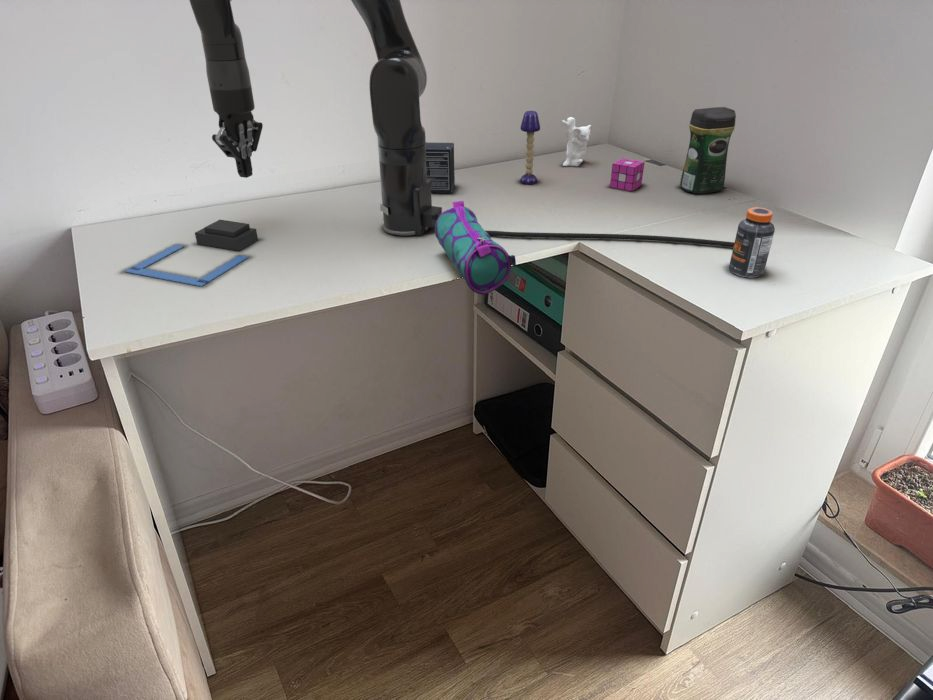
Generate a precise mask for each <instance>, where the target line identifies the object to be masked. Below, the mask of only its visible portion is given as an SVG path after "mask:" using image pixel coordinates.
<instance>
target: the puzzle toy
mask: <svg viewBox="0 0 933 700" xmlns="http://www.w3.org/2000/svg"><path fill="white" fill-rule="evenodd" d="M644 169H645V161H641V160H636V159H635V160H634V159H629V158H624V157H623V158H622V157H621V159H618V160H617V161H615V162H613V163H612V164H611V173H610V182H609V188H612V189H618V190H622V191H627V192H633V191H635V190H637V189H638V188H640V187H641V186H642V185H643V176H644Z"/></svg>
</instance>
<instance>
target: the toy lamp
mask: <svg viewBox="0 0 933 700" xmlns="http://www.w3.org/2000/svg"><path fill="white" fill-rule="evenodd" d="M540 130H541V123H540V119H539V113H538V112H537V111H536V110H527V111H524V113H523V117H522V120H521V123H520V131H521V132H525V133H526V151H525V155H526V157H525V170H524V171H525V173H524V174H523V175H521V177H520V180H519V182H520V183H521V184H523V185H535V184H537V183H538V178H537V176H536V175H535V174H533V172H534V171H533V167H534V163H533V162H534V153H535V152H534V148H535V144H534V142H535V137H534V136H535V133H537V132H539V131H540Z"/></svg>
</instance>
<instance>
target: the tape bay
mask: <svg viewBox="0 0 933 700" xmlns="http://www.w3.org/2000/svg"><path fill="white" fill-rule="evenodd" d="M184 247H185V246H184V245H180V244H174V245H171V246H170V247H168V248H166V249H164V250H162V251H160V252H159V253H157V254H154V255H153V256H151V257H149V258H147V259H145V260H143V261H141V262H140V263H137V264H136V265H134V266H132V267H129V268H128V269H126V270H124V273H128V274H131V275H132V274H133V275H138V276H144V277H148V278H155V279H159V280H165V281H168V282H169V281H170V282H175V283H179V284H180V283H181V284H184V285H185V284H186V285H191V286H195V287H196V286H197V287H204V286H205V285H207V284H208V283H210V282H211V281H213V280H215V279H217V278H218V277H219V276H221V275H223V274H224V273H226V272H228V271H229V270H231V269H233V268H234V267H236V266H237V265H239V264H240V263H243V262H244V261H245V260H247V259H248V258H249V256H245V255H238V256H236V257H234V258H232V259H231V260H229V261H228V262H225V263H224V264H222V265H221V266H219V267H217V268H216V269H214V270H212V271H211V272H210V273H208V274H206V275H204V276H202V277H201V278H195V277H190V276H185V275H179V274H174V273H168V272H164V271H158V270H153V269H147V267H149V266H151V265H153V264H154V263H156V262H158V261H160V260H162V259H164V258H166V257H168V256H170V255H171V254H173V253H175V252H177V251H179V250H181V249H183V248H184Z"/></svg>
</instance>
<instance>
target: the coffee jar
mask: <svg viewBox="0 0 933 700" xmlns="http://www.w3.org/2000/svg"><path fill="white" fill-rule="evenodd" d="M736 118H737V115H736V111H735V109H732V108H730V107H726V106H717V107H716V106H715V107H706V108H704V107H703V108H696V109H694V110H693V111H692V113H691V118H690V122H689V132H690V137H689V144H688V148H687V154H686V158H685V162H684V165H683V170H682V173H681V177H680V182H679V186H680V187H681V189H682V190H684V191H685V192H687V193H693V194H710V193H715V192H720V191H722V190H723V189H724V188H725V181H726V180H725V179H726V171H727V170H726V169H727V159H728V152H729V144H730V141H731V137H732V135H733V132H734V131H735V127H736Z"/></svg>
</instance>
